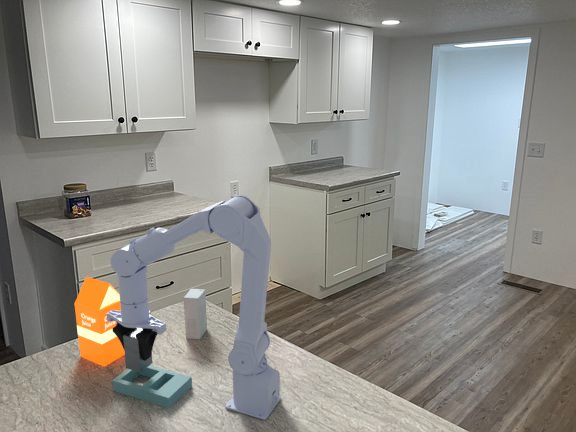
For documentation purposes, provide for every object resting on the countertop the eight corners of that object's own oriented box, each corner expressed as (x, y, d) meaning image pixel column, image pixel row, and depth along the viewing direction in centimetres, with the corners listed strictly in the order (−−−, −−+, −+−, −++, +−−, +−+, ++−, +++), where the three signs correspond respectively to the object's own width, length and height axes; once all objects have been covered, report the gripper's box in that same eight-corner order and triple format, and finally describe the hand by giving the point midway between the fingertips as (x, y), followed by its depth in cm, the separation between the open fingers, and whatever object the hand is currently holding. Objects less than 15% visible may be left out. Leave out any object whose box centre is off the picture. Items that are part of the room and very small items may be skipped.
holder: (191, 386, 105) (191, 376, 104) (169, 408, 98) (168, 398, 97) (138, 370, 111) (137, 361, 110) (113, 390, 103) (112, 380, 103)
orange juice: (104, 367, 112) (96, 289, 107) (79, 356, 116) (71, 281, 111) (129, 351, 119) (123, 278, 114) (105, 342, 123) (98, 271, 118)
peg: (152, 363, 105) (150, 330, 103) (140, 372, 102) (137, 339, 100) (138, 358, 107) (135, 327, 105) (125, 368, 103) (123, 335, 101)
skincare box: (192, 327, 131) (190, 288, 128) (207, 329, 130) (206, 289, 127) (185, 338, 125) (182, 297, 122) (200, 340, 125) (198, 298, 122)
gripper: (173, 297, 101) (176, 354, 104) (120, 286, 106) (125, 340, 110) (152, 311, 95) (156, 370, 98) (97, 298, 100) (102, 355, 104)
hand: (138, 355), depth 104 cm, fingers closed on peg, 4 cm apart
